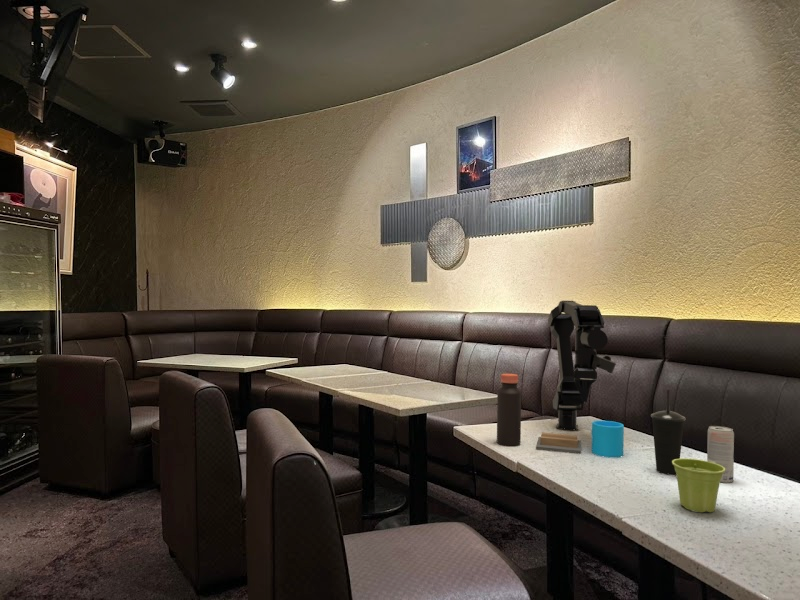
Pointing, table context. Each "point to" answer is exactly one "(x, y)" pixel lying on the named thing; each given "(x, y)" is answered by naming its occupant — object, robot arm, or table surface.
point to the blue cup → (607, 438)
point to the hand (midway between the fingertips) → (584, 399)
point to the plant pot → (698, 483)
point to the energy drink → (721, 450)
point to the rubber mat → (559, 447)
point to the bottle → (509, 411)
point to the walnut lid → (559, 440)
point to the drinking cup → (667, 438)
